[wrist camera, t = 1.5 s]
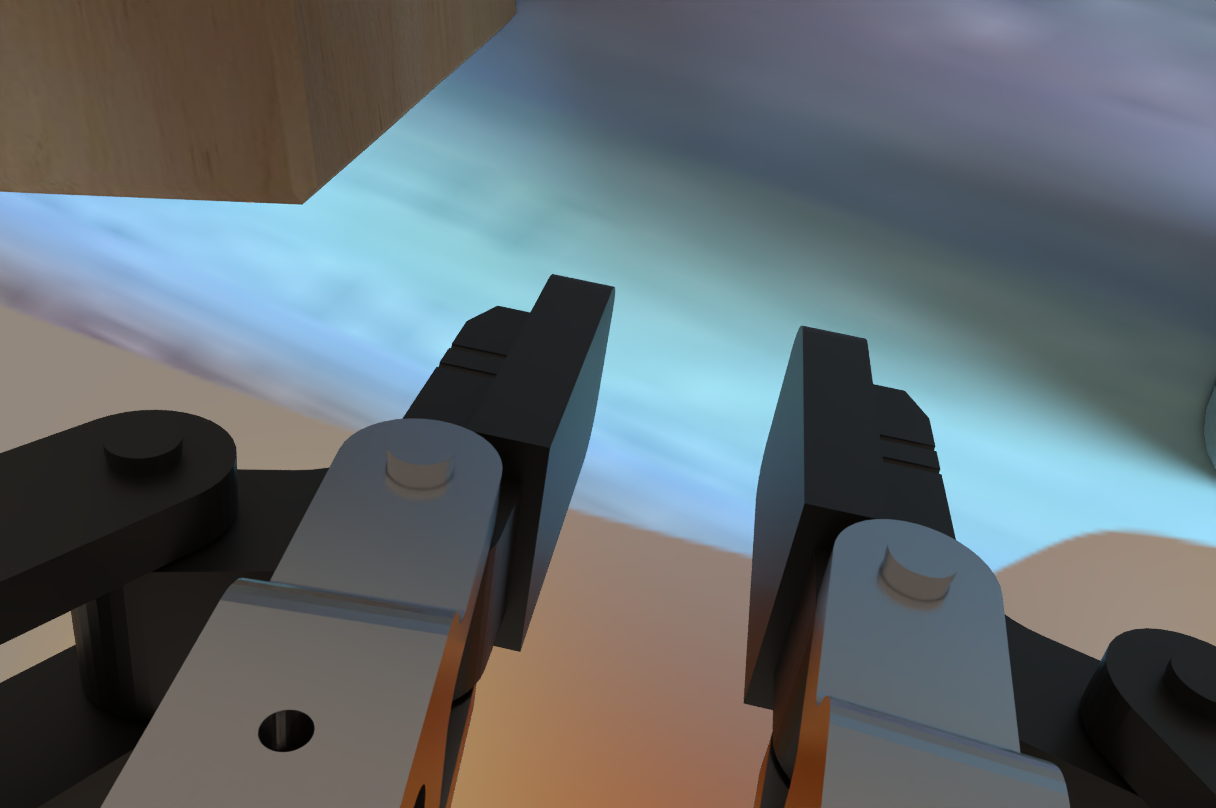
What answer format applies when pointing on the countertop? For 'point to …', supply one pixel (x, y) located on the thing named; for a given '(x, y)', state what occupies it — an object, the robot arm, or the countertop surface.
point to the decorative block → (216, 90)
